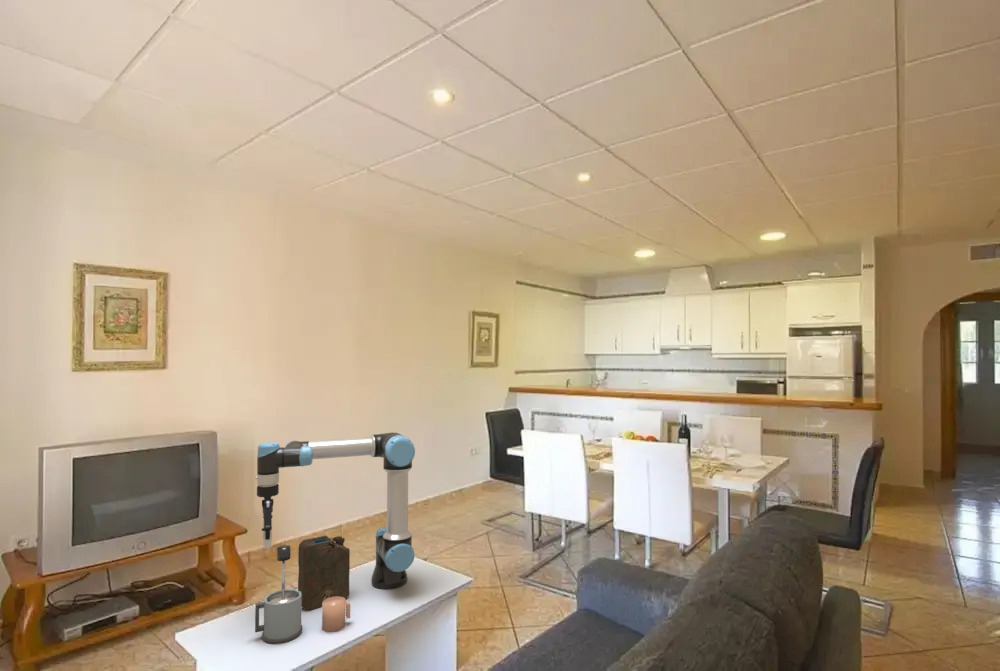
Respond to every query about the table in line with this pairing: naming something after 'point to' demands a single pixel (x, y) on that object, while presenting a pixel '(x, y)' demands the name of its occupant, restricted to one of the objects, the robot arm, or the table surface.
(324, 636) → the table surface
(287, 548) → the plunger
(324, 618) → the peach mug
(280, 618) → the faceted grey tankard
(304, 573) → the canister
